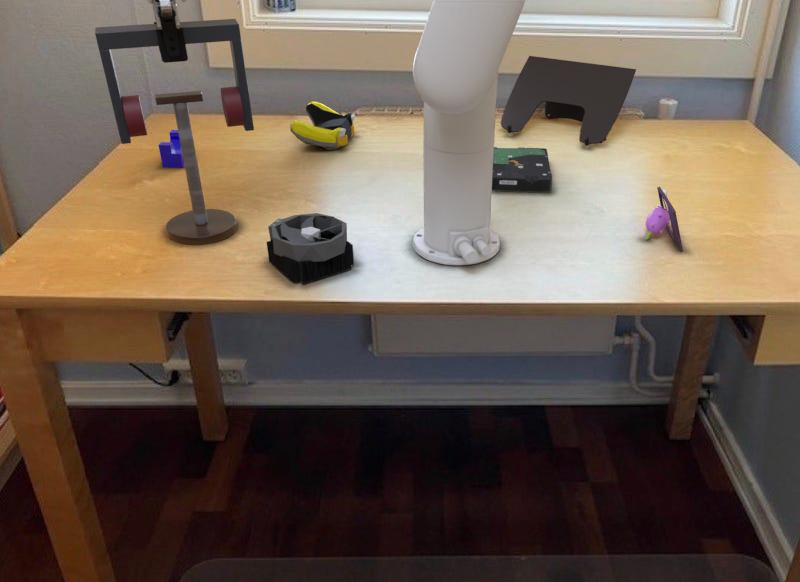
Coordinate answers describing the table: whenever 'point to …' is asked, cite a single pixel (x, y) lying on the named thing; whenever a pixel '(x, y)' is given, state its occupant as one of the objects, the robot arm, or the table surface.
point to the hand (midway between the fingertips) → (173, 55)
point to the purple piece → (664, 219)
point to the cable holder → (172, 151)
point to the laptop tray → (569, 95)
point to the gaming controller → (324, 127)
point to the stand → (194, 185)
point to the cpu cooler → (309, 247)
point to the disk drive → (521, 170)
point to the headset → (146, 36)
